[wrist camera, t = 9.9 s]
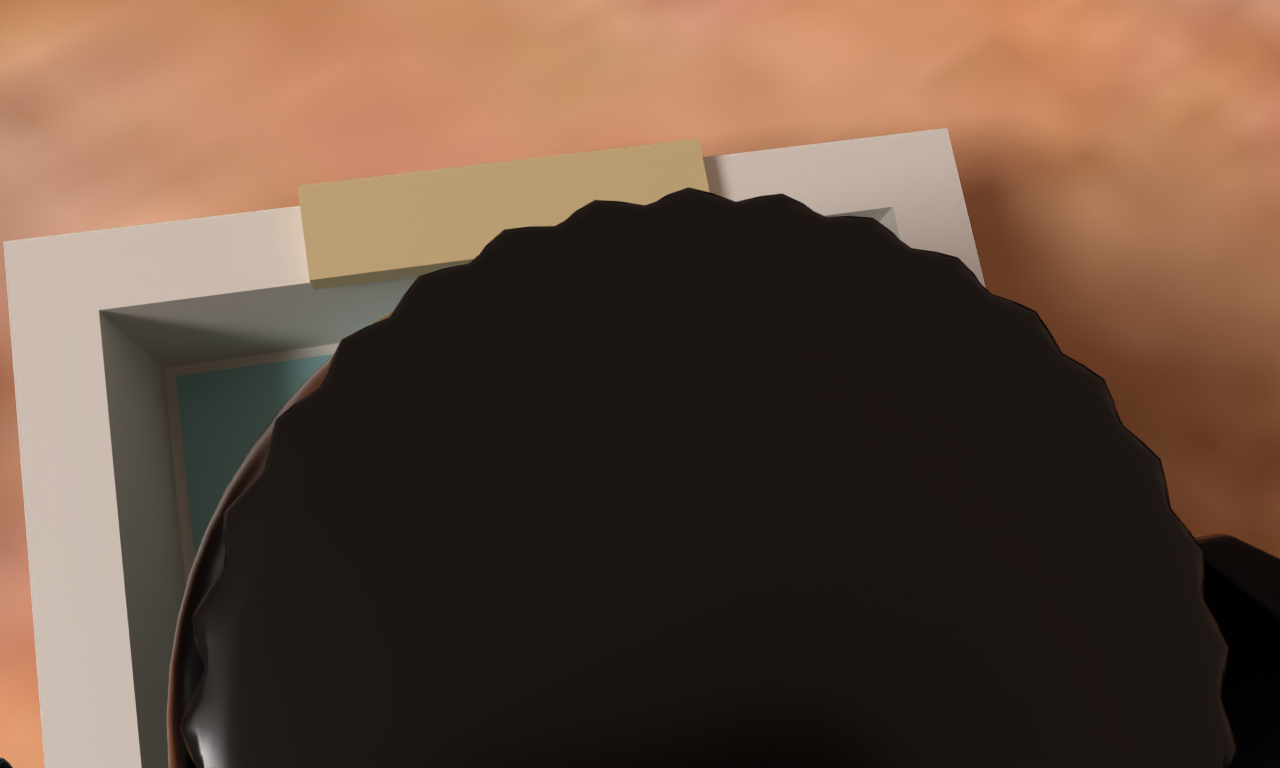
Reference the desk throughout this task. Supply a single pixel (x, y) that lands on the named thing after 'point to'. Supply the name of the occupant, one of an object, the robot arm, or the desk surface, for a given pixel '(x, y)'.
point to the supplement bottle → (699, 524)
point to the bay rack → (291, 367)
